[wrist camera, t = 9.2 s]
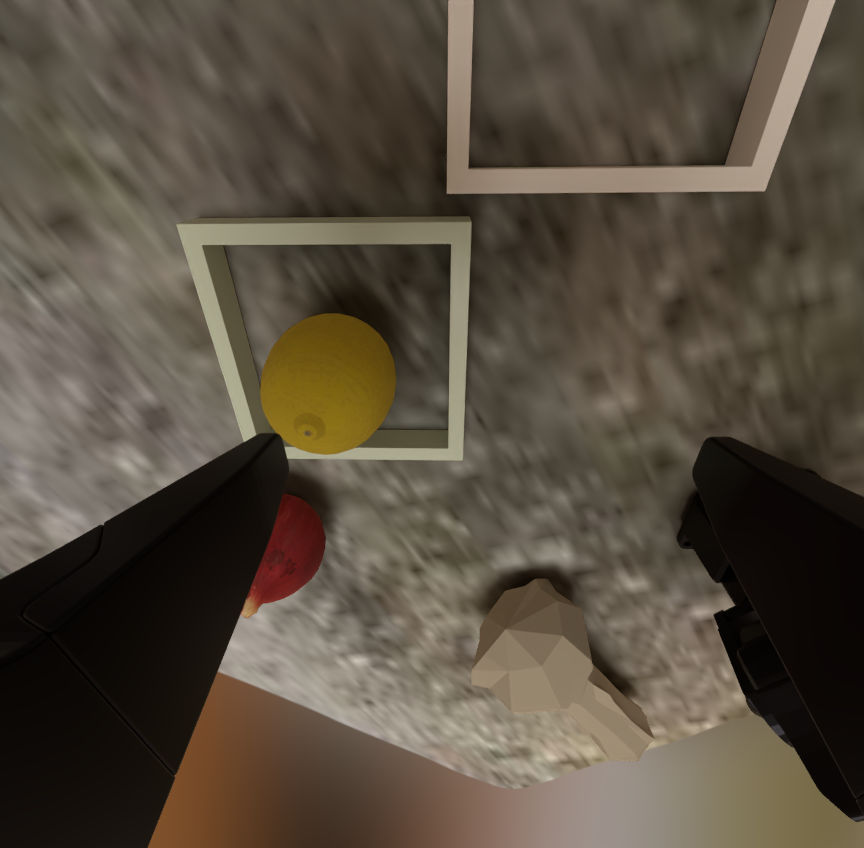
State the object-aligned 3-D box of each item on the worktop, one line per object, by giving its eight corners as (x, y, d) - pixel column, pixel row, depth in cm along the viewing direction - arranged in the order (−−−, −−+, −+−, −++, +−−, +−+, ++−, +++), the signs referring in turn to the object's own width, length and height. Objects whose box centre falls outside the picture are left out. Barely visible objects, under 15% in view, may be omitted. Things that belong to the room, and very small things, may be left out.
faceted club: (569, 550, 29) (673, 689, 41) (464, 563, 33) (585, 684, 45) (569, 698, 22) (691, 810, 34) (439, 688, 27) (587, 790, 39)
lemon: (303, 389, 23) (245, 487, 17) (289, 288, 20) (211, 357, 14) (403, 395, 23) (385, 495, 17) (404, 294, 20) (383, 367, 14)
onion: (236, 469, 27) (166, 576, 20) (326, 464, 26) (285, 573, 19) (264, 533, 30) (211, 645, 23) (344, 530, 29) (314, 643, 23)
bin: (469, 216, 18) (471, 222, 17) (461, 441, 25) (462, 460, 23) (198, 218, 19) (176, 224, 17) (260, 439, 25) (249, 458, 24)
